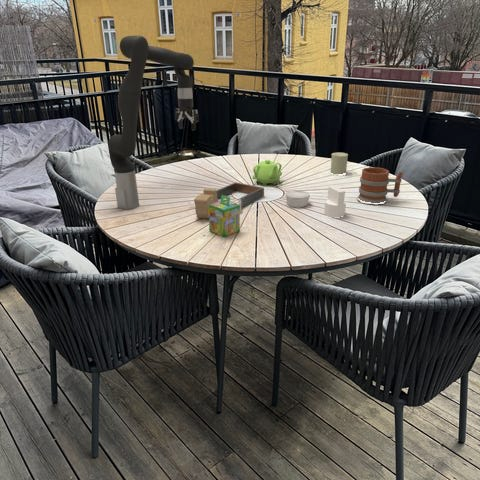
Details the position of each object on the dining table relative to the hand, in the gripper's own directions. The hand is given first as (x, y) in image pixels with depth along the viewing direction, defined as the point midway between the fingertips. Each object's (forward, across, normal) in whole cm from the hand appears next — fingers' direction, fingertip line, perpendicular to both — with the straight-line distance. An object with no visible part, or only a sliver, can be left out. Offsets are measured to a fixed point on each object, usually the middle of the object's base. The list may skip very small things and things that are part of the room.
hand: (187, 129), depth 220 cm
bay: (+29, +37, -11) cm, 49 cm away
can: (+29, +63, +58) cm, 90 cm away
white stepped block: (+29, +86, -4) cm, 90 cm away
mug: (+29, +96, +24) cm, 103 cm away
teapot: (+29, +37, +21) cm, 52 cm away
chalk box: (+29, +55, -44) cm, 76 cm away
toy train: (+29, +37, -33) cm, 57 cm away
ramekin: (+29, +66, 0) cm, 72 cm away
